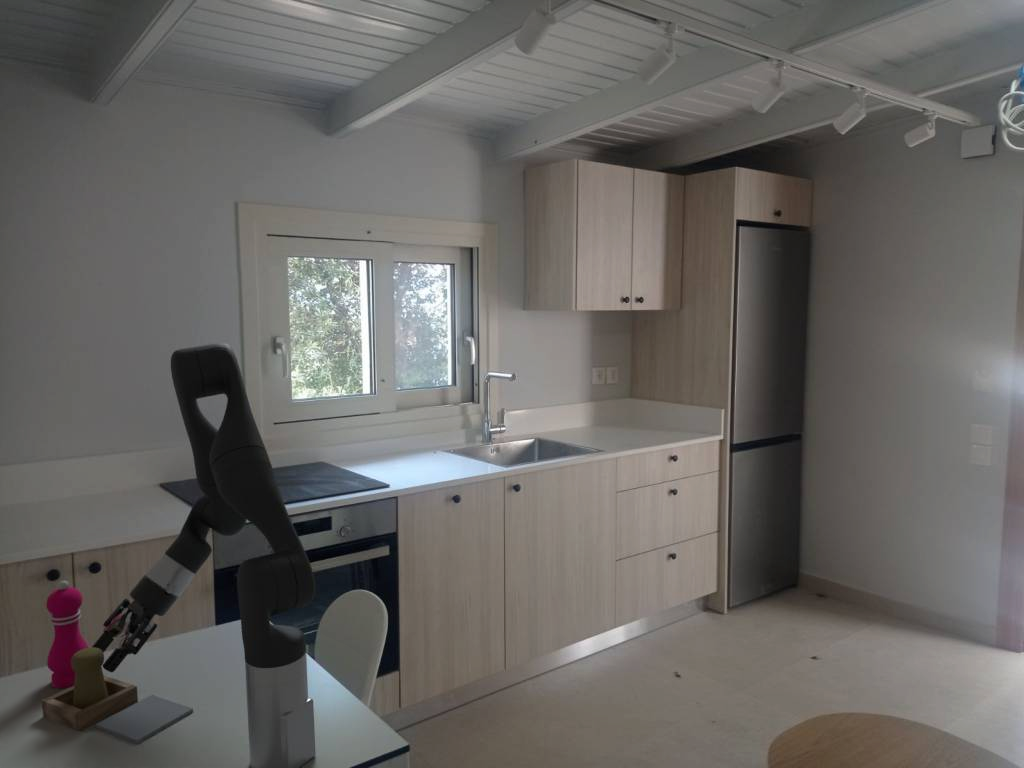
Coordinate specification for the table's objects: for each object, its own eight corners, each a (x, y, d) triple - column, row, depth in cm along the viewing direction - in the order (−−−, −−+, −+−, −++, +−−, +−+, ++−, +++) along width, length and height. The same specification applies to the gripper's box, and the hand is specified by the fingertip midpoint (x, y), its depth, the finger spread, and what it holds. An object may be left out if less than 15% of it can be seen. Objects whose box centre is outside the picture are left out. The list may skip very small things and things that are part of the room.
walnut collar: (137, 701, 138) (136, 686, 137) (81, 731, 128) (79, 714, 128) (100, 688, 143) (99, 673, 142) (43, 716, 133) (41, 700, 133)
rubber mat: (193, 711, 134) (192, 708, 134) (137, 743, 124) (137, 740, 124) (152, 697, 139) (151, 694, 139) (95, 727, 129) (95, 724, 129)
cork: (93, 719, 132) (89, 659, 131) (63, 716, 133) (59, 657, 132) (117, 702, 138) (113, 644, 137) (89, 699, 139) (85, 642, 138)
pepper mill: (54, 674, 149) (47, 576, 147) (95, 668, 151) (88, 572, 149) (44, 692, 142) (35, 589, 140) (87, 685, 144) (79, 585, 142)
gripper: (135, 564, 146) (73, 639, 139) (159, 584, 135) (93, 666, 129) (166, 584, 150) (106, 657, 143) (191, 604, 139) (128, 684, 133)
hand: (100, 661), depth 136 cm, fingers open, 8 cm apart
